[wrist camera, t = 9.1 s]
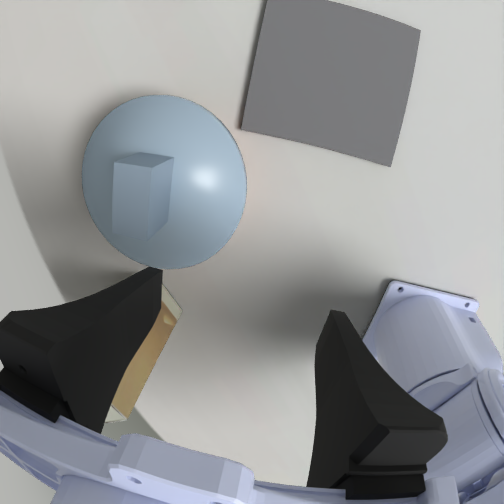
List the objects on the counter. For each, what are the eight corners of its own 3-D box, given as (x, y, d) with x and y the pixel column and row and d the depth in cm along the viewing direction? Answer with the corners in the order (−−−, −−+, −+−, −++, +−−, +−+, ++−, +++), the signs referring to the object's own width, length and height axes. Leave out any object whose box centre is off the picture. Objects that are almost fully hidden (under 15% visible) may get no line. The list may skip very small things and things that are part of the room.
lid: (263, 108, 16) (254, 109, 13) (230, 281, 21) (218, 314, 18) (92, 91, 16) (56, 93, 13) (88, 244, 21) (60, 267, 18)
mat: (418, 31, 15) (420, 30, 14) (388, 166, 19) (390, 167, 19) (270, -9, 15) (269, -11, 15) (241, 129, 20) (240, 129, 19)
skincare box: (139, 331, 29) (79, 428, 18) (110, 297, 28) (37, 388, 17) (187, 310, 27) (129, 423, 16) (156, 270, 26) (77, 375, 15)
